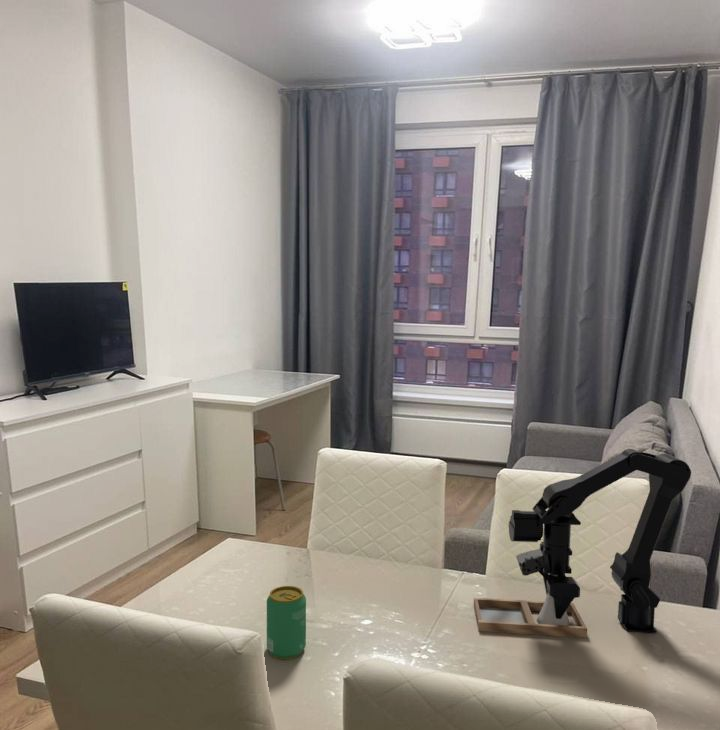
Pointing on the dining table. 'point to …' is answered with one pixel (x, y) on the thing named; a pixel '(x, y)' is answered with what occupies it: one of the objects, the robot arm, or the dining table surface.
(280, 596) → the beverage can
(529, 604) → the caddy
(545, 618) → the flask
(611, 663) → the dining table surface
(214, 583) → the dining table surface
